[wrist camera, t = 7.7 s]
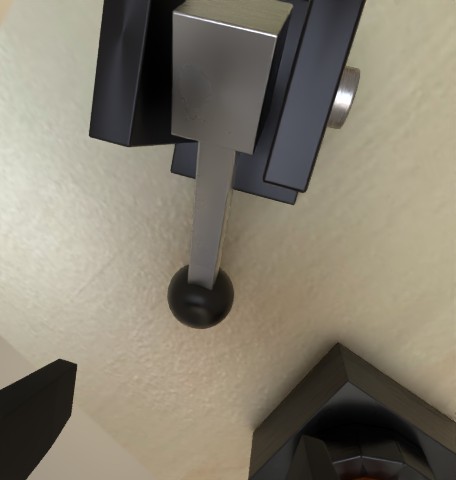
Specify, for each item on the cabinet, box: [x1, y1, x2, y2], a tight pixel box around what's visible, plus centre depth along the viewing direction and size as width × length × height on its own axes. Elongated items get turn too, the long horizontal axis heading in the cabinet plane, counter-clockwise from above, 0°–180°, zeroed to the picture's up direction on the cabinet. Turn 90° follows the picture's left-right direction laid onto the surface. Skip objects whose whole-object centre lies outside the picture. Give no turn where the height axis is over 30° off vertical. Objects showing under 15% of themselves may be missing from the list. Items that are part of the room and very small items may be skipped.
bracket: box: [89, 0, 366, 205], centre depth 12 cm, size 8×6×10 cm
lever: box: [167, 0, 293, 329], centre depth 13 cm, size 13×3×3 cm, turn 166°
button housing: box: [248, 343, 456, 480], centre depth 18 cm, size 8×8×5 cm
